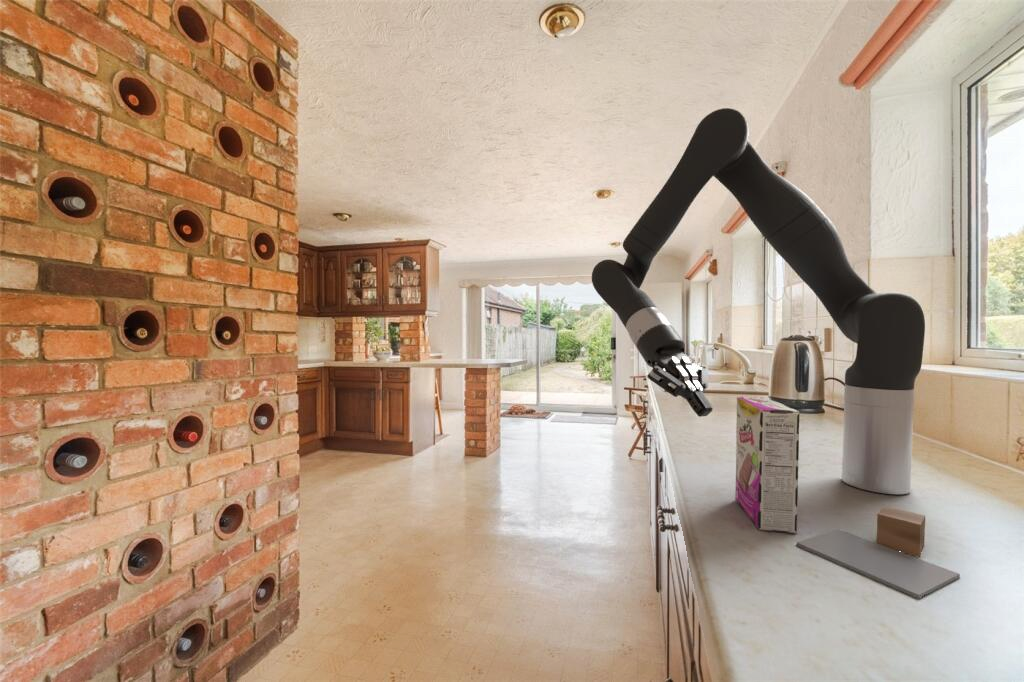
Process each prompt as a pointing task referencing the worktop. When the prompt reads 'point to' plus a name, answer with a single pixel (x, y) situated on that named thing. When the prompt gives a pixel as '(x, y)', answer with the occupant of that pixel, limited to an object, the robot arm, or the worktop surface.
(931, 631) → the worktop surface
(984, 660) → the worktop surface
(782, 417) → the candy bar box
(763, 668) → the worktop surface
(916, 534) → the walnut block
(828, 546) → the plate
